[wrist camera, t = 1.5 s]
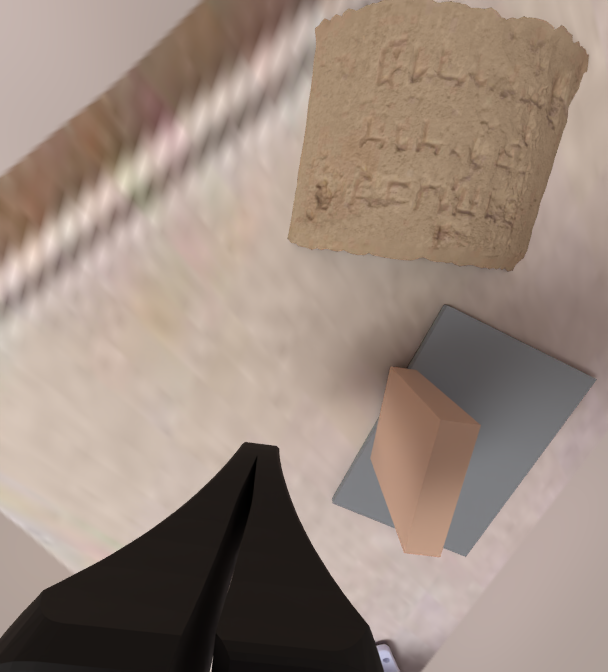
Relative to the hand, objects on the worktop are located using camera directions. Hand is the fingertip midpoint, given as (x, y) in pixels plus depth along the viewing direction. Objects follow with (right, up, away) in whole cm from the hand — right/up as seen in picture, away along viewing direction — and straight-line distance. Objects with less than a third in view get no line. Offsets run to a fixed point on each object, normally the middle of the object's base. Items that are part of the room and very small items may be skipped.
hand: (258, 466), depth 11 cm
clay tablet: (+8, +14, +4) cm, 17 cm away
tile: (+7, 0, +6) cm, 9 cm away
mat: (+11, -2, +7) cm, 13 cm away
